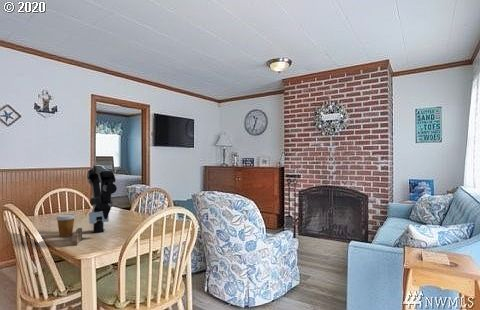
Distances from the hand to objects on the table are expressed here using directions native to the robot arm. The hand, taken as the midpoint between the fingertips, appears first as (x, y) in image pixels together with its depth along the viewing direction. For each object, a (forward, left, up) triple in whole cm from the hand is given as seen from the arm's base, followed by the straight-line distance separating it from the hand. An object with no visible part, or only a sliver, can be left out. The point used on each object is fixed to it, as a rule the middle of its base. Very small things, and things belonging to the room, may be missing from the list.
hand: (105, 218), depth 168 cm
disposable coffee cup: (-10, -23, -11) cm, 27 cm away
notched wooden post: (+6, -14, -11) cm, 18 cm away
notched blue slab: (0, -3, -2) cm, 4 cm away
